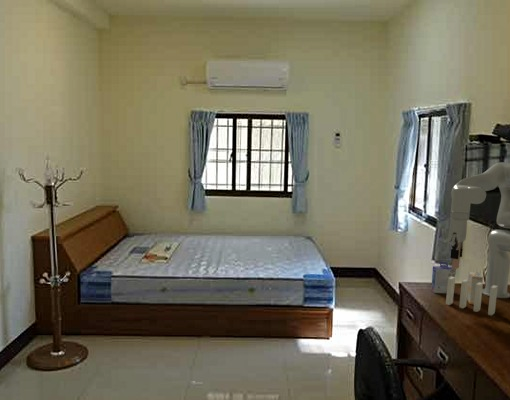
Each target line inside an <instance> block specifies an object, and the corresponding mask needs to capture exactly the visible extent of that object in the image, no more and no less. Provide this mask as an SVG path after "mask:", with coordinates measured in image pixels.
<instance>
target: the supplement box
mask: <svg viewBox="0 0 510 400" xmlns="http://www.w3.org/2000/svg"><path fill="white" fill-rule="evenodd" d="M483 278H484V277H483V276H482V274H481V273H480V272H475V271H474V272H472V271H468V275H467V280H469V284H468V294H467V302H468V304H469V305H474V299H475V288H476V284H477V283H479V282H481V283H483Z"/></svg>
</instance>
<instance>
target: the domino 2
mask: <svg viewBox="0 0 510 400" xmlns="http://www.w3.org/2000/svg"><path fill="white" fill-rule="evenodd" d="M455 242H457V241H455ZM457 243H458V242H457ZM456 245H457V244H456ZM460 248H461V243H459V248H458V250H459V257H458V259H453V258H452V259H451V260H452V261H451V267H452V269H456V270H457V269H458V268H460V258H461V257H460Z"/></svg>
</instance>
